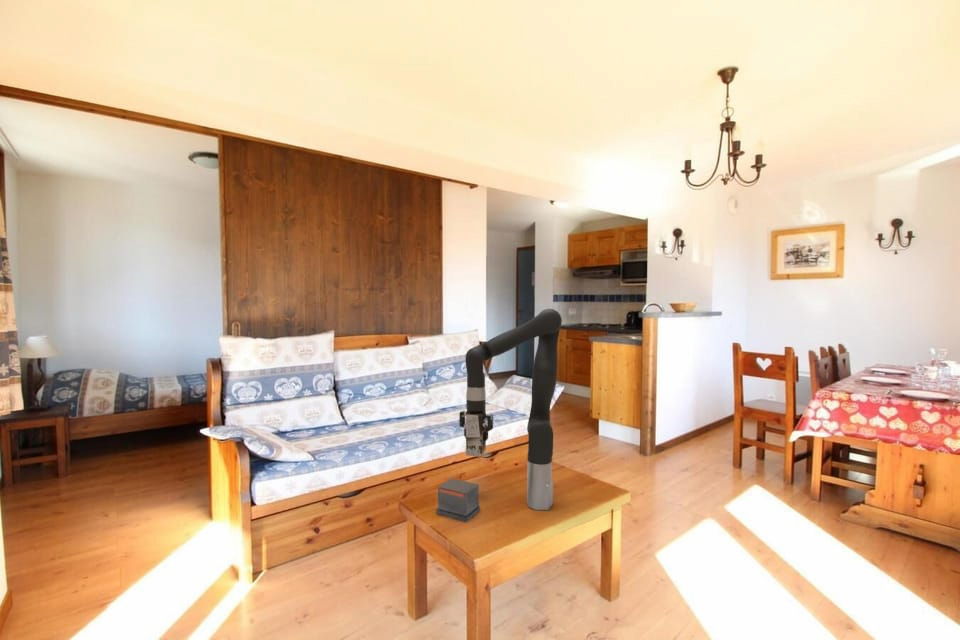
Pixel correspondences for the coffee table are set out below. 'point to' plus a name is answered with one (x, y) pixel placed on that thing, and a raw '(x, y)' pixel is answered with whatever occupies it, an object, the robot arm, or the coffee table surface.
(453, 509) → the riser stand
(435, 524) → the coffee table surface
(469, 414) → the coffee box
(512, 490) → the coffee table surface
